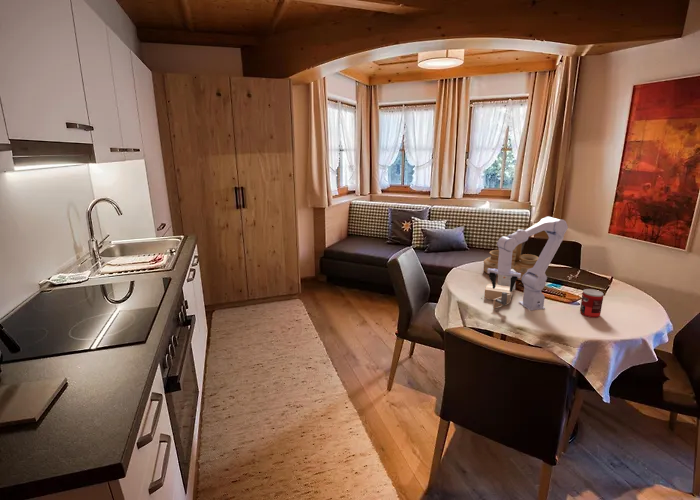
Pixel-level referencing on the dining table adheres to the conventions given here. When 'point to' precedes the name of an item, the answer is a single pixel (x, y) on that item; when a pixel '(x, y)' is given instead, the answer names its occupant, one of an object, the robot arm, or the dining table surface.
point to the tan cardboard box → (502, 300)
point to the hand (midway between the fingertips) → (502, 289)
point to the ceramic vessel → (516, 264)
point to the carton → (496, 291)
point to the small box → (505, 280)
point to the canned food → (591, 303)
